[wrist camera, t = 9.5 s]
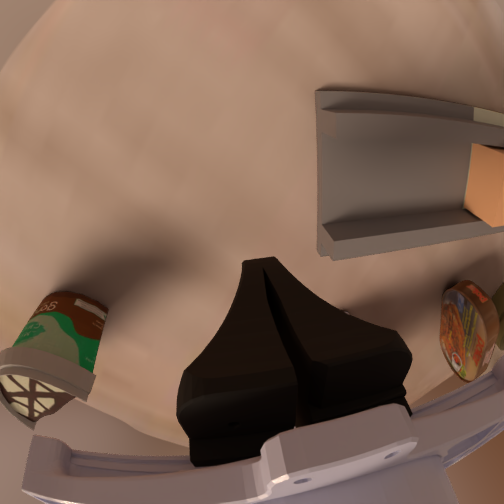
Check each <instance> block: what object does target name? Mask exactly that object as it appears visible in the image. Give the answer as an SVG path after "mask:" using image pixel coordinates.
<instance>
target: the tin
mask: <svg viewBox="0 0 504 504" xmlns="http://www.w3.org/2000/svg"><path fill="white" fill-rule="evenodd" d="M499 330H500V322H499V316H498V312H497V310H496V307H495V305H494V303H493V301H492V300H491V298H490V297H489V296H488V295H487V294H486V293H485V292H484V291H483V290H482V289H481V288H480V287H479V286H477V285H476V284H475V283H473V282H472V281H469V280H464V281H461V282H459V283H458V284H456V285H455V286H453V287H452V288H450V289H447V290H446V291H445V292H444V294H443V296H442V310H441V327H440V344H441V348H442V351H443V354H444V356H445V358H446V360H447V362H448V364H449V366H450V367H451V369H452V371H453V372H454V373H455V374H456V375H457V376H458V378H460V379H461V380H462V381H463V382H466V383H470V382H472V381H474V380H475V379H476V378H477V377H478V376H480V375H481V374H482V373H483V372H484V371H485V370H486V369H487V367H488V364H489V361H490V359H491V356H492V353H493V350H494V347H495V344H496V341H497V338H498V334H499Z"/></svg>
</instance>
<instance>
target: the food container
mask: <svg viewBox="0 0 504 504" xmlns="http://www.w3.org/2000/svg"><path fill="white" fill-rule="evenodd" d="M107 313H108V308H106V307H105V306H104V305H102V304H101V303H99V302H98V301H96V300H94V299H91V298H89V297H87V296H85V295H83V294H78V293H73V292H69V291H64V292H54V293H52V294H50V295H48V296H46V297H45V298H44V299H43V301H42V302H41V303H40V305H39V306H38V308H37V309H36V311H35V312H34V314H33V315H32V317H31V318H30V320H29V321H28V323H27V324H26V326H25V327H24V329H23V330H22V332H21V333H20V335H19V337H18V338H17V340H16V341H15V343H14V345H13V346H12V347H11V348H7V349H5V350H3V351H1V352H0V402H1V404H2V405H3V406H4V407H5V408H6V410H7V411H8V412H9V413H10V414H12V415H13V416H14V417H15V418H16V419H17V420H19V421H20V422H21V423H23V424H24V425H26V426H27V427H29V428H30V429H32V430H34V428H35V425H36V422H37V421H38V420H39V419H40V418H42V417H44V416H46V415H51V414H54V413H55V412H57V411H58V410H59V409H60V408H61V407H62V406H64V405H65V404H66V403H68V402H69V401H70V400H72V399H74V398H75V397H77V398H79V399H81V400H83V401H84V402H87V398H88V394H89V393H90V392H91V389H92V386H93V383H94V380H95V378H96V375H95V374H93V369H94V365H95V360H96V356H97V351H98V347H99V343H100V339H101V335H102V331H103V327H104V324H105V320H106V316H107Z"/></svg>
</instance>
